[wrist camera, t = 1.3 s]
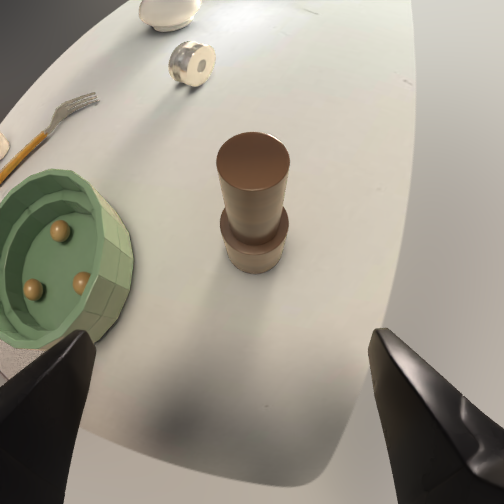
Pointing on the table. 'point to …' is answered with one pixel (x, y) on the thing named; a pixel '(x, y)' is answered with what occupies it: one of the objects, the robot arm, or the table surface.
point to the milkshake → (3, 146)
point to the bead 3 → (80, 282)
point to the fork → (46, 131)
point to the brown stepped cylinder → (253, 200)
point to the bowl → (60, 261)
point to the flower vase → (168, 13)
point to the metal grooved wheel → (192, 63)
